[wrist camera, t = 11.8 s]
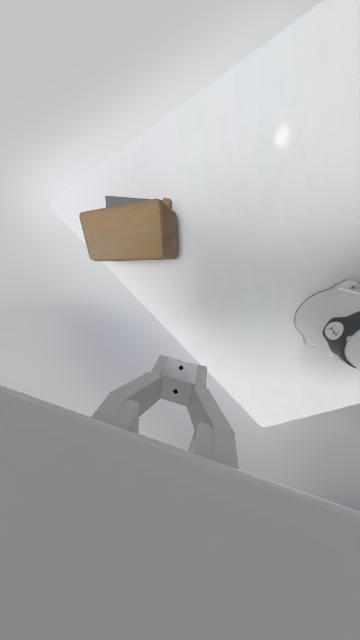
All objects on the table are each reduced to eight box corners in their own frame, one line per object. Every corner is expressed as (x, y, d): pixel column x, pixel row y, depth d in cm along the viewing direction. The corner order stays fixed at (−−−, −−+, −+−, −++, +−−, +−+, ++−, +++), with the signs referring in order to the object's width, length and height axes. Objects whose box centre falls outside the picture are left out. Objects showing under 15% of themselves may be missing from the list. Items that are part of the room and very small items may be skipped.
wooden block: (177, 212, 33) (110, 222, 39) (159, 195, 24) (75, 211, 30) (179, 258, 37) (117, 261, 43) (163, 258, 28) (88, 261, 34)
